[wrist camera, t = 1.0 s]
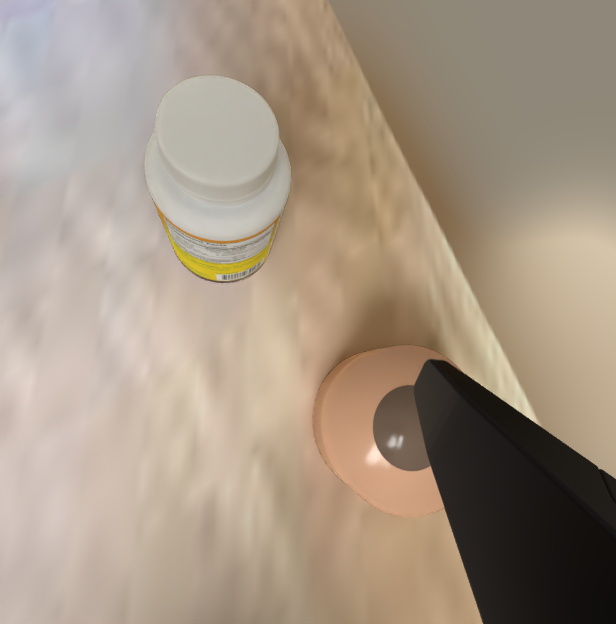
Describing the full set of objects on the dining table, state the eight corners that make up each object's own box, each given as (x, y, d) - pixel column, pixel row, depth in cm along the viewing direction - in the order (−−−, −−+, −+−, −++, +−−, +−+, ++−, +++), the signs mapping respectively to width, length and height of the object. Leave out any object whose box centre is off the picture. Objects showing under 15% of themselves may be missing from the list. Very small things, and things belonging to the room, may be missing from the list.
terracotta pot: (329, 509, 20) (353, 541, 16) (299, 365, 21) (316, 362, 18) (454, 469, 22) (503, 489, 18) (421, 339, 23) (461, 331, 19)
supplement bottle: (205, 179, 22) (188, 20, 12) (286, 227, 23) (332, 111, 13) (152, 255, 21) (86, 144, 11) (240, 304, 21) (253, 241, 11)
